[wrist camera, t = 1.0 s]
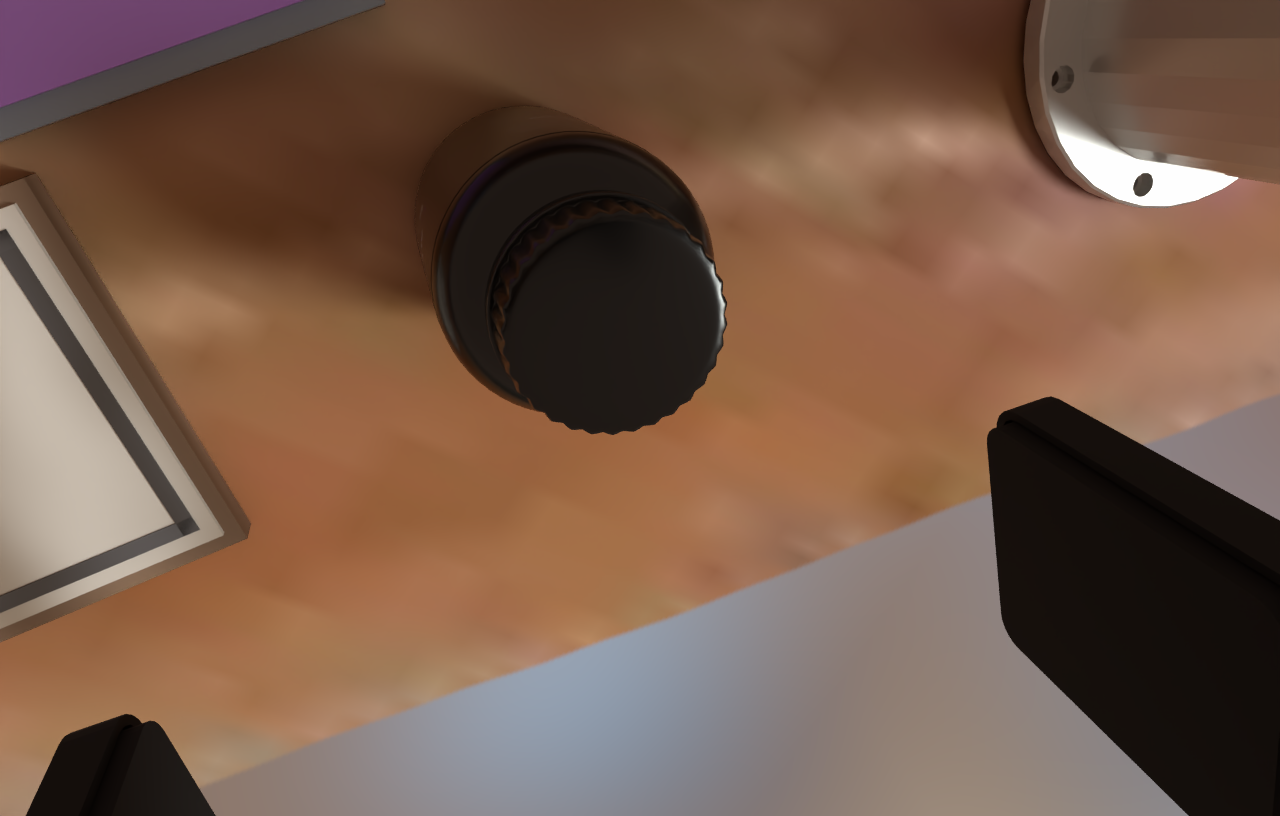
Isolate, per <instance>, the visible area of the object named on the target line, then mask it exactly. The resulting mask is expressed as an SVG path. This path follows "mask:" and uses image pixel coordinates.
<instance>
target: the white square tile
mask: <svg viewBox="0 0 1280 816" xmlns="http://www.w3.org/2000/svg"><path fill="white" fill-rule="evenodd" d="M250 525H251V523H250V521H249V520H248V518H247V516H246V515H245V513H244V512H243V510H242V508H241V507H240V505H239V503H238V502H237V500H236V499H235V497H234V495H233V494H232V492H231V490H230V489H229V487H228V485H227V484H226V482H225V481H224V479H223V477H222V476H221V474H220V472H219V471H218V469H217V468H216V466H215V464H214V463H213V461H212V459H211V458H210V456H209V455H208V453H207V451H206V450H205V448H204V446H203V445H202V443H201V441H200V440H199V438H198V437H197V435H196V433H195V432H194V430H193V428H192V427H191V425H190V424H189V422H188V420H187V419H186V417H185V415H184V414H183V412H182V411H181V409H180V407H179V406H178V404H177V402H176V401H175V399H174V397H173V396H172V394H171V393H170V391H169V389H168V388H167V386H166V384H165V383H164V381H163V380H162V378H161V376H160V375H159V373H158V371H157V370H156V368H155V367H154V365H153V363H152V362H151V360H150V358H149V357H148V355H147V353H146V352H145V350H144V349H143V347H142V345H141V344H140V342H139V340H138V339H137V337H136V336H135V334H134V332H133V331H132V329H131V327H130V326H129V324H128V323H127V321H126V319H125V318H124V316H123V314H122V313H121V311H120V309H119V308H118V306H117V305H116V303H115V301H114V300H113V298H112V296H111V295H110V293H109V292H108V290H107V288H106V287H105V285H104V283H103V282H102V280H101V279H100V277H99V275H98V274H97V272H96V270H95V269H94V267H93V265H92V264H91V262H90V261H89V259H88V257H87V256H86V254H85V252H84V251H83V249H82V248H81V246H80V244H79V243H78V241H77V239H76V238H75V236H74V235H73V233H72V231H71V230H70V228H69V226H68V225H67V223H66V221H65V220H64V218H63V217H62V215H61V213H60V212H59V210H58V208H57V207H56V205H55V204H54V202H53V200H52V199H51V197H50V195H49V194H48V192H47V191H46V189H45V187H44V186H43V184H42V182H41V181H40V179H39V177H38V176H37V174H36V173H35V174H32V175H30V176H27V177H24V178H21V179H19V180H16V181H13V182H10V183H8V184H5V185H2V186H0V642H2V641H5V640H7V639H10V638H12V637H14V636H17V635H19V634H21V633H24V632H26V631H29V630H31V629H33V628H36V627H38V626H40V625H43V624H45V623H48V622H50V621H52V620H55V619H57V618H59V617H62V616H64V615H67V614H69V613H71V612H74V611H76V610H78V609H81V608H83V607H86V606H88V605H90V604H93V603H95V602H97V601H100V600H102V599H105V598H107V597H109V596H112V595H114V594H116V593H119V592H121V591H124V590H126V589H128V588H131V587H133V586H135V585H138V584H140V583H143V582H145V581H147V580H150V579H152V578H154V577H157V576H159V575H162V574H164V573H166V572H169V571H171V570H173V569H176V568H178V567H181V566H183V565H185V564H188V563H190V562H193V561H195V560H197V559H200V558H202V557H204V556H207V555H209V554H212V553H214V552H216V551H219V550H221V549H223V548H226V547H228V546H231V545H233V544H235V543H238V542H240V541H242V540H245V539H247V538H248V534H249V530H250Z"/></svg>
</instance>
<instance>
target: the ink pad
mask: <svg viewBox="0 0 1280 816" xmlns="http://www.w3.org/2000/svg"><path fill="white" fill-rule="evenodd" d="M382 5H385V0H0V142H3V141H5V140H8V139H11V138H14V137H17V136H19V135H22V134H25V133H28V132H30V131H33V130H36V129H39V128H42V127H44V126H47V125H50V124H53V123H56V122H58V121H61V120H64V119H67V118H70V117H72V116H75V115H78V114H81V113H84V112H86V111H89V110H92V109H95V108H97V107H100V106H103V105H106V104H109V103H111V102H114V101H117V100H120V99H123V98H125V97H128V96H131V95H134V94H137V93H139V92H142V91H145V90H148V89H150V88H153V87H156V86H159V85H162V84H164V83H167V82H170V81H173V80H176V79H178V78H181V77H184V76H187V75H190V74H192V73H195V72H198V71H201V70H204V69H206V68H209V67H212V66H215V65H217V64H220V63H223V62H226V61H229V60H231V59H234V58H237V57H240V56H243V55H245V54H248V53H251V52H254V51H257V50H259V49H262V48H265V47H268V46H270V45H273V44H276V43H279V42H282V41H284V40H287V39H290V38H293V37H296V36H298V35H301V34H304V33H307V32H310V31H312V30H315V29H318V28H321V27H324V26H326V25H329V24H332V23H335V22H337V21H340V20H343V19H346V18H349V17H351V16H354V15H357V14H360V13H363V12H365V11H368V10H371V9H374V8H377V7H379V6H382Z"/></svg>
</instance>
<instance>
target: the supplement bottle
mask: <svg viewBox="0 0 1280 816" xmlns="http://www.w3.org/2000/svg"><path fill="white" fill-rule="evenodd" d="M415 231H416V237H417V243H418V248H419V252H420V256H421V260H422V263H423V267H424V271H425V275H426V278H427V282H428V286H429V290H430V293H431V297H432V301H433V304H434V308H435V311H436V315H437V318H438V321H439V324H440V326H441V328H442V331H443V333H444V335H445V337H446V339H447V341H448V343H449V345H450V347H451V348H452V350H453V352H454V353H455V355H456V356H457V358H458V359H459V361H460V362H461V363H462V364H463V366H464V367H465V368H466V369H467V370H468V372H469V373H470V374H471V375H472V376H473V377H475V378H476V379H477V380H478V381H479V382H480V383H481V384H482V385H484V386H485V387H486V388H488V389H489V390H490V391H492V392H493V393H495V394H497V395H498V396H500V397H501V398H503V399H505V400H507V401H509V402H511V403H513V404H516V405H518V406H521V407H524V408H527V409H530V410H534V411H537V412H543V413H545V414H546V416H547V417H548V418H549V419H550V420H551V421H553V422H561V423H564V424H565V425H566V426H567V427H568V428H569V429H571V430H578V429H583V430H585V431H586V432H588V433H590V434H596V433H601V432H605V433H607V434H611V435H614V434H617V433H619V432H621V431H631V432H634V431H636V430H638V429H640V428H641V427H643V426H646V425H655V424H656V423H657V422H658V421H659V420H660V419H661V418H662V417H665V416H669V415H672V414H674V413H675V411H676V410H677V409H678V407H679V406H680V405H682V404H684V403H686V402H688V401H690V400H691V398H692V396H693V394H694V392H695V391H696V390H697V389H699V388H700V387H701V386H703V385H704V384H705V381H706V379H707V375H708V373H709V372H710V371H711V370H712V369H713V368H714V367H715V366H716V361H717V354H718V353H719V351H720V350H721V348H722V347H723V333H724V331H725V329H726V326H727V321H726V318H725V315H724V314H725V310H726V306H727V301H726V299H725V297H724V296H723V294H722V291H723V281H722V279H721V278H720V276H719V275H718V274H717V273H716V266H715V261H714V254H713V247H712V241H711V237H710V233H709V230H708V227H707V224H706V221H705V218H704V216H703V214H702V211H701V209H700V207H699V205H698V203H697V201H696V200H695V198H694V197H693V195H692V193H691V192H690V190H689V189H688V188H687V186H686V185H685V184H684V183H683V181H682V180H681V179H680V178H679V177H678V176H677V175H676V174H675V173H674V172H673V171H672V170H671V169H670V168H669V167H668V166H667V165H665V164H664V163H663V162H662V161H661V160H659V159H658V158H656V157H655V156H654V155H652V154H651V153H649V152H648V151H646V150H644V149H643V148H641V147H639V146H637V145H635V144H633V143H631V142H629V141H627V140H625V139H622V138H620V137H618V136H616V135H613V134H611V133H609V132H607V131H604V130H602V129H600V128H598V127H595V126H593V125H591V124H589V123H587V122H584V121H582V120H580V119H578V118H575V117H573V116H570V115H568V114H565V113H562V112H559V111H556V110H552V109H549V108H543V107H537V106H512V107H504V108H500V109H495V110H492V111H489V112H486V113H483V114H481V115H479V116H477V117H474V118H472V119H471V120H469V121H467V122H466V123H464V124H463V125H461V126H460V127H459V128H457V129H456V130H455V131H453V132H452V133H451V134H450V135H449V136H448V137H447V138H446V139H445V140H444V141H443V142H442V143H441V145H440V146H439V147H438V148H437V150H436V151H435V152H434V154H433V155H432V157H431V159H430V160H429V162H428V164H427V166H426V168H425V170H424V172H423V175H422V177H421V180H420V184H419V187H418V191H417V196H416V203H415Z"/></svg>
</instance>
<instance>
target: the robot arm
mask: <svg viewBox="0 0 1280 816" xmlns="http://www.w3.org/2000/svg"><path fill="white" fill-rule="evenodd" d="M1023 60H1024V72H1025V84H1026V95H1027V99H1028V103H1029V106H1030V110H1031V114H1032V118H1033V121H1034V125H1035V128H1036V130H1037V132H1038V134H1039V136H1040V138H1041V140H1042V142H1043V144H1044V146H1045V148H1046V150H1047V152H1048V154H1049V155H1050V157H1051V158H1052V159H1053V160H1054V162H1055V163H1056V164H1057V165H1058V167H1059V168H1060V169H1061V170H1062V171H1063V173H1064V174H1065V175H1066V176H1067V177H1068V178H1070V179H1071V180H1072V181H1074V182H1075V183H1076V184H1077V185H1079V186H1080V187H1081V188H1083V189H1084V190H1085V191H1087V192H1089V193H1091V194H1094V195H1096V196H1099V197H1101V198H1103V199H1106V200H1108V201H1111V202H1115V203H1120V204H1124V205H1129V206H1133V207H1139V208H1168V207H1173V206H1178V205H1183V204H1187V203H1192V202H1195V201H1197V200H1200V199H1202V198H1204V197H1207V196H1209V195H1211V194H1214V193H1216V192H1218V191H1221V190H1222V189H1224V188H1225V187H1227V186H1228V185H1230V184H1231V183H1233V182H1234V181H1236V180H1237V179H1239V178H1242V179H1249V180H1255V181H1261V182H1267V183H1274V184H1280V0H1031V2H1030V7H1029V11H1028V16H1027V20H1026V31H1025V45H1024V58H1023ZM987 449H988V461H989V473H990V485H991V497H992V509H993V521H994V532H995V545H996V556H997V568H998V581H999V593H1000V605H1001V615H1002V620H1003V623H1004V626H1005V629H1006V631H1007V633H1008V635H1009V636H1010V638H1011V639H1012V641H1013V642H1014V644H1015V645H1016V646H1017V647H1018V648H1019V649H1020V650H1021V651H1022V652H1023V653H1024V654H1025V655H1026V656H1027V657H1028V658H1029V659H1030V660H1031V661H1032V662H1033V663H1034V664H1035V665H1036V666H1037V667H1038V668H1039V669H1040V670H1041V671H1042V672H1043V673H1044V674H1045V675H1046V676H1047V677H1048V678H1049V679H1050V680H1051V681H1052V682H1053V683H1054V684H1055V685H1056V686H1057V687H1058V688H1059V689H1060V690H1062V692H1064V693H1065V695H1066V696H1067V697H1069V698H1070V699H1071V700H1072V701H1073V702H1074V703H1075V704H1076V705H1077V706H1078V707H1079V708H1080V709H1081V710H1082V711H1083V712H1084V713H1085V714H1086V715H1087V716H1088V717H1089V718H1090V719H1091V720H1092V721H1093V722H1094V723H1095V724H1096V725H1097V726H1098V727H1099V728H1100V729H1101V730H1102V731H1103V732H1104V733H1105V734H1106V735H1107V736H1108V737H1109V738H1110V739H1111V740H1112V741H1113V742H1114V743H1115V744H1116V745H1117V746H1118V747H1119V748H1120V749H1121V750H1122V751H1123V752H1124V753H1125V754H1127V755H1128V756H1129V757H1130V758H1131V759H1132V760H1133V761H1134V762H1135V763H1136V764H1137V765H1138V766H1139V767H1140V768H1141V769H1142V770H1143V771H1144V772H1145V773H1146V774H1147V775H1148V776H1149V777H1150V778H1151V779H1152V780H1153V781H1154V782H1155V783H1156V784H1157V785H1158V786H1159V787H1160V788H1161V789H1162V790H1163V791H1164V792H1165V793H1166V794H1167V795H1168V796H1169V797H1170V798H1171V799H1172V800H1173V801H1175V803H1176V804H1177V805H1178V806H1179V807H1180V808H1182V810H1183V811H1185V813H1187V814H1188V815H1189V816H1280V521H1279V520H1278V519H1276V518H1274V517H1272V516H1270V515H1269V514H1267V513H1265V512H1263V511H1261V510H1260V509H1258V508H1256V507H1254V506H1252V505H1250V504H1248V503H1247V502H1245V501H1243V500H1241V499H1239V498H1238V497H1236V496H1234V495H1232V494H1230V493H1228V492H1227V491H1225V490H1223V489H1221V488H1220V487H1218V486H1216V485H1214V484H1212V483H1210V482H1208V481H1207V480H1205V479H1203V478H1201V477H1200V476H1198V475H1196V474H1194V473H1192V472H1190V471H1189V470H1187V469H1185V468H1183V467H1181V466H1180V465H1178V464H1176V463H1174V462H1172V461H1170V460H1169V459H1167V458H1165V457H1163V456H1161V455H1159V454H1158V453H1156V452H1154V451H1152V450H1150V449H1149V448H1147V447H1145V446H1143V445H1141V444H1140V443H1138V442H1136V441H1134V440H1132V439H1130V438H1129V437H1127V436H1125V435H1123V434H1121V433H1120V432H1118V431H1116V430H1114V429H1112V428H1110V427H1109V426H1107V425H1105V424H1103V423H1101V422H1100V421H1098V420H1096V419H1094V418H1092V417H1090V416H1089V415H1087V414H1085V413H1083V412H1081V411H1080V410H1078V409H1076V408H1074V407H1072V406H1070V405H1069V404H1067V403H1065V402H1063V401H1061V400H1060V399H1057V398H1054V397H1045V398H1042V399H1039V400H1036V401H1033V402H1030V403H1028V404H1025V405H1022V406H1019V407H1016V408H1013V409H1010V410H1007V411H1004V412H1003V413H1002V414H1001V415H1000V416H999V418H998V421H997V428H994V429H992V430H991V431H990V432H989V434H988V437H987ZM26 816H215V814H214V812H213V811H212V809H211V808H210V806H209V804H208V803H207V801H206V799H205V798H204V796H203V794H202V793H201V791H200V789H199V788H198V786H197V784H196V783H195V781H194V779H193V778H192V776H191V774H190V773H189V771H188V769H187V768H186V766H185V764H184V763H183V761H182V759H181V758H180V756H179V755H178V753H177V751H176V750H175V748H174V746H173V745H172V743H171V741H170V740H169V738H168V736H167V735H166V733H165V731H164V730H163V729H162V727H161V726H160V725H159V724H158V723H156V722H155V721H148V722H145V723H141V722H140V720H139V719H137V718H136V717H135V716H133V715H129V714H124V715H121V716H118V717H116V718H113V719H110V720H107V721H104V722H101V723H98V724H95V725H92V726H89V727H86V728H84V729H81V730H78V731H75V732H72V733H70V734H68V735H66V736H65V737H64V738H63V739H62V741H61V742H60V744H59V746H58V748H57V750H56V752H55V754H54V756H53V759H52V761H51V763H50V765H49V767H48V769H47V771H46V774H45V776H44V778H43V780H42V782H41V784H40V786H39V789H38V791H37V793H36V795H35V797H34V799H33V801H32V804H31V806H30V808H29V810H28V812H27V814H26Z"/></svg>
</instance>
